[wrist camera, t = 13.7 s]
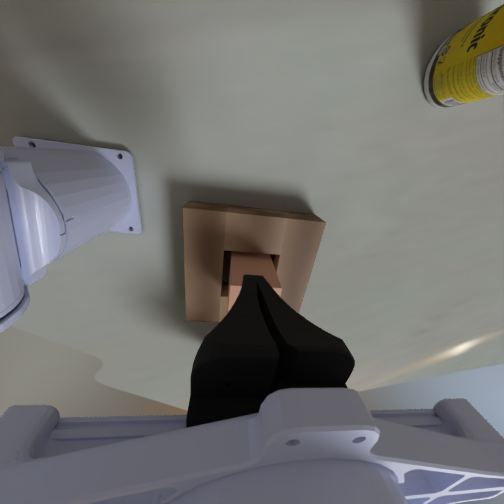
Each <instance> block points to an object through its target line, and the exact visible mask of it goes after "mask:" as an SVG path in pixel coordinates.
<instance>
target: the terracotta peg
mask: <svg viewBox="0 0 504 504" xmlns="http://www.w3.org/2000/svg"><path fill="white" fill-rule="evenodd" d="M245 274H248V275H261V276H264V278H265V279H266V280H267V282H268V283H269V284H270V285H271V287H272V288H273V289H274V290H275V291H276V293H277V294H278V295H279V296H281V291H282V286H281V284H280V281H279V278H278V275H277V273H276V270H275V267H274V265H273V262H272V259H271V256H270V254H264V253H251V252H239V251H231V259H230V271H229V287H228V309H227V313H228V312H229V310H230V309H231V307H232V306H233V304H234V303H235V301H236V299H237V297H238V295H239V293H240V290H241V287H242V281H243V275H245Z"/></svg>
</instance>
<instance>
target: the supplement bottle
mask: <svg viewBox="0 0 504 504" xmlns="http://www.w3.org/2000/svg"><path fill="white" fill-rule="evenodd" d="M424 91H425V95H426V98H427V100H428V101H429V103H431V104H432V105H433V106H435V107H439V108H447V107H452V106H457V105H461V104H465V103H469V102H473V101H477V100H481V99H485V98H489V97H493V96H497V95H501V94H504V4H503V5H502V6H500V7H498V8H496V9H495V10H493V11H491V12H489V13H488V14H486V15H484V16H482V17H481V18H479V19H477V20H476V21H474V22H472V23H470V24H469V25H467V26H465V27H464V28H462V29H460V30H458V31H457V32H455V33H454V34H452V35H451V36H450V37H449V38H447V39H446V40H445V41H444V42H443V43H442V44H441V45H440V47H439V48H438V49H437V51H436V52H435V53H434V55H433V57H432V59H431V60H430V62H429V65H428V67H427V70H426V73H425V78H424Z"/></svg>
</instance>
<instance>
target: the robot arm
mask: <svg viewBox="0 0 504 504" xmlns="http://www.w3.org/2000/svg"><path fill="white" fill-rule="evenodd" d="M12 141H13V145H14V146H2V145H1V144H0V332H2V331H4V330H5V329H6V328H8V327H9V326H10V325H12V324H13V323H15V322H16V321H17V320H18V319H19V318H20V317H21V316H22V315H23V313H24V312H25V311H26V309H27V307H28V305H29V302H30V294H29V291H28V287H27V286H29V285H30V284H32V283H34V282H35V281H37V280H39V279H40V278H42V277H43V276H45V275H46V268H47V266H48V265H49V264H50V263H51V262H53V261H55V260H57V259H58V258H60V257H62V256H64V255H65V254H67V253H69V252H71V251H72V250H74V249H76V248H78V247H79V246H81V245H83V244H85V243H87V242H88V241H90V240H92V239H94V238H95V237H97V236H99V235H101V234H102V233H104V232H106V231H110V232H122V233H133V234H139V233H140V232H141V231H142V224H141V216H140V208H139V200H138V192H137V184H136V177H135V169H134V161H133V156H132V154H131V153H130V152H128V151H123V150H115V149H108V148H101V147H93V146H86V145H78V144H71V143H64V142H56V141H49V140H42V139H34V138H27V137H19V136H15V137H13V139H12ZM33 142H34V143H35V145H36V147H34V146H33ZM120 153H121V154H122V156H123V158H122V159H120V158H119V154H120ZM130 227H132V228H133V230H131V229H130ZM354 366H355V360H354V358H353V356H352V355H351V353H350V351H349V349H348V348H347V346H346V345H345V343H344V342H343V340H342V339H340V338H338V337H336V336H334V335H332V334H330V333H328V332H326V331H324V330H322V329H321V328H319V327H317V326H316V325H314V324H313V323H311V322H310V321H308V320H307V319H305V318H304V317H303V316H301V315H300V314H299V313H297V312H296V311H295V310H294V309H293V308H291V307H290V306H289V305H288V304H287V303H286V302H285V301H284V300H283V299H282V298H281V297H280V296H279V295H278V294H277V293H276V291H275V290H274V289H273V288H272V287H271V285H270V284H269V283H268V282H267V280H266V279H265V278H264V276H261V275H248V274H245V275H243V281H242V287H241V290H240V293H239V295H238V297H237V299H236V301H235V303H234V304H233V306H232V307H231V309H230V310H229V312H228V313H227V315H226V316H225V317H224V318H223V319H222V321H221V322H220V323H219V324H218V325H217V326H216V327H215V328H214V329H213V330H212V331H211V332H210V333H209V334H208V335H206V337H205V338H204V340H203V342H202V344H201V346H200V348H199V350H198V352H197V354H196V357H195V360H194V363H193V368H192V373H191V396H190V402H189V407H188V413H187V415H154V416H153V415H151V416H110V417H71V418H70V417H68V418H67V417H66V418H60V415H59V412H58V410H57V409H56V408H55V407H53V406H50V405H49V406H48V405H14V406H11V407H9V408H8V409H7V410H6V411H5V413H4V414H3V415H2V416H1V417H0V504H454V503H460V502H466V501H473V500H482V499H489V498H493V497H495V496H497V495H499V494H501V493H503V492H504V438H503V437H502V436H501V435H500V434H499V433H498V432H497V431H496V430H495V429H494V428H493V427H492V426H491V425H490V424H489V423H488V422H487V421H486V420H485V419H484V418H483V416H482V415H481V414H480V413H479V412H478V411H477V410H476V409H475V408H474V407H473V406H472V405H471V404H470V403H469V402H468V401H467V400H466V399H443V400H441V401H439V402H438V403H437V404H436V405H435V406H434V408H433V409H408V410H407V409H406V410H369V409H368V407H367V405H366V404H365V402H364V400H363V398H362V396H361V395H360V394H359V393H358V392H357V391H356V390H353V389H348V388H347V386H346V384H345V383H346V381H347V380H348V378H349V376H350V375H351V373H352V371H353V368H354Z"/></svg>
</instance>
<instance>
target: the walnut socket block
mask: <svg viewBox="0 0 504 504" xmlns="http://www.w3.org/2000/svg"><path fill="white" fill-rule="evenodd" d="M325 225H326V222H325V221H323V220H322V219H320V218H319V217H318V216H316V215H313V214H304V213H295V212H286V211H276V210H267V209H258V208H249V207H239V206H230V205H221V204H212V203H202V202H193V201H189V202H188V203H187V204H186V205H185V206H184V207H183V239H184V272H185V305H186V321H202V322H221V321H222V319H223V318H224V317H225V316H226V315H227V309H228V287H229V282H222V277H223V263H224V250H226V251H239V252H251V253H264V254H273V256H272V262H273V265H274V267H275V270H276V273H277V275H278V278H279V281H280V284H281V286H282V291H281V296H280V297H281V298H282V299H283V300H284V301H285V302H286V303H287V304H288V305H289V306H290V307H291V308H293V309H294V310H295V311H296V312H297V313H299V311H300V307H301V304H302V301H303V297H304V294H305V291H306V287H307V284H308V281H309V277H310V274H311V271H312V268H313V264H314V261H315V258H316V254H317V251H318V248H319V244H320V241H321V238H322V235H323V231H324V228H325Z"/></svg>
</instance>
